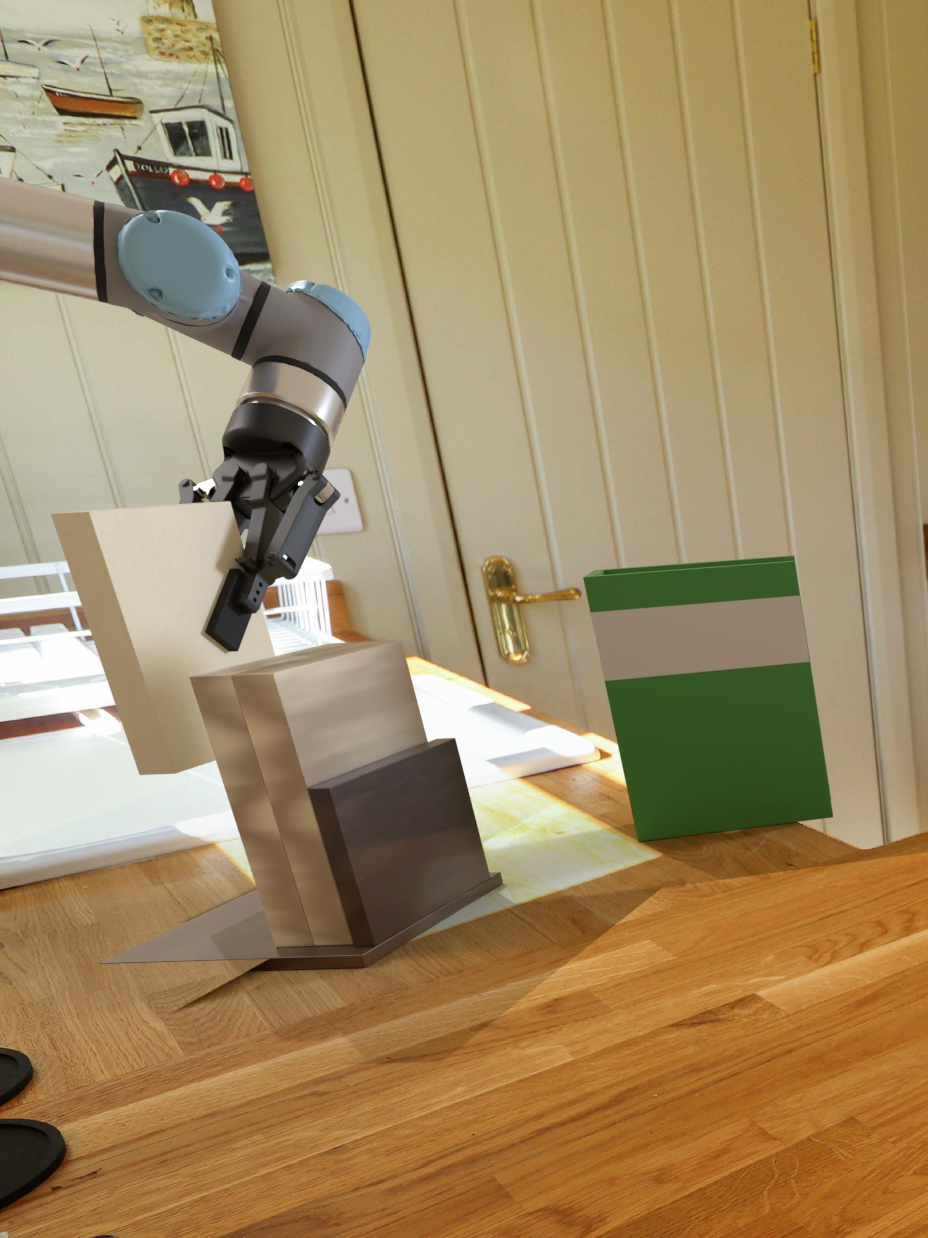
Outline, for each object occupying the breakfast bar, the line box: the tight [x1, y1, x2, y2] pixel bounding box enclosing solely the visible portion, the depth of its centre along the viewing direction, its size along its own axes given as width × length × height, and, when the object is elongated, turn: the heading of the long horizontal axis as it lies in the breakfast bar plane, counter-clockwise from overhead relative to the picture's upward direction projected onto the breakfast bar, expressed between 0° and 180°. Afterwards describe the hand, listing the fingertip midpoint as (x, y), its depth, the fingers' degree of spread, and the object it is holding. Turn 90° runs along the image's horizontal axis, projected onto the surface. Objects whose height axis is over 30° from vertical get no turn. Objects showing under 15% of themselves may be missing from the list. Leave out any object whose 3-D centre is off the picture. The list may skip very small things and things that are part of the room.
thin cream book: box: [50, 501, 276, 776], centre depth 103 cm, size 3×14×20 cm, turn 178°
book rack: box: [98, 639, 504, 972], centre depth 96 cm, size 20×18×21 cm
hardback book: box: [582, 554, 834, 843], centre depth 119 cm, size 18×7×24 cm, turn 107°
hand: (200, 642), depth 105 cm, fingers closed on thin cream book, 3 cm apart
